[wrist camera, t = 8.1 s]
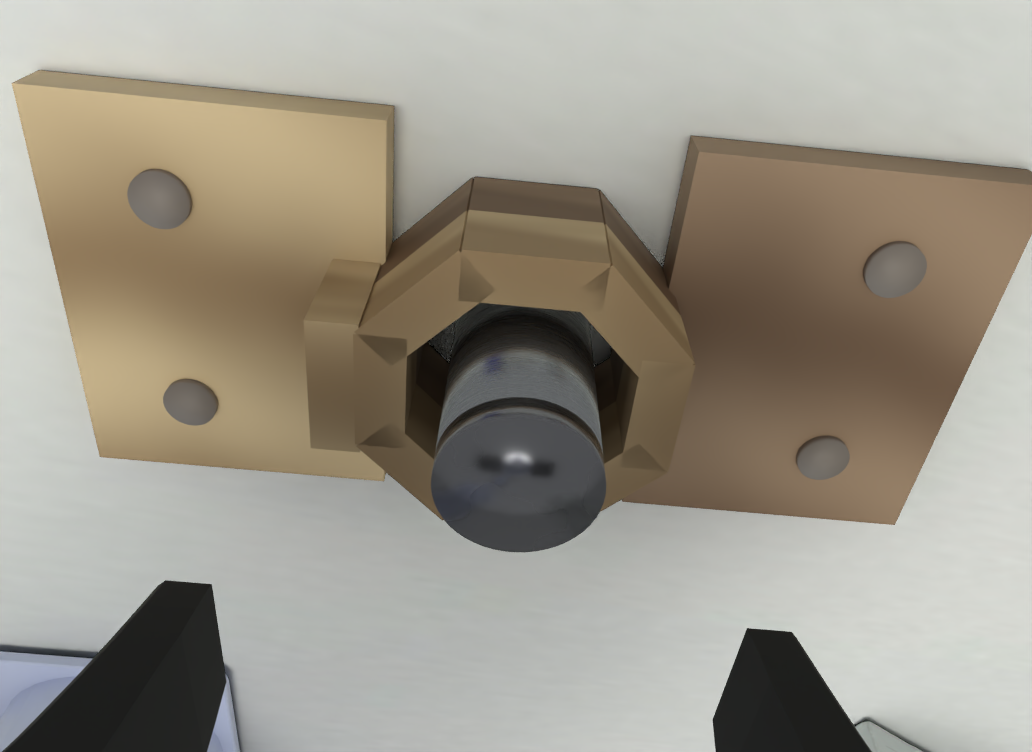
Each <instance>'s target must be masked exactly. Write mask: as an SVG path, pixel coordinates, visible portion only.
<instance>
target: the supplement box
mask: <svg viewBox="0 0 1032 752" xmlns="http://www.w3.org/2000/svg"><path fill="white" fill-rule="evenodd" d="M855 728H856V729H857V731H858V732H859V734H860V735H861V737H862V738H863V740H864V741H865V743H866V744H867V745H868V747H869V748H870V750H871V751H872V752H923V751H921V750H919V749H918V748H916V747H914V746H912V745H910V744H908V743H906V742H904V741H903V740H901V739H899V738H898V737H896V736H894V735H892V734H891V733H889V732H887V731H885V730H884V729H882V728H880V727H879V726H877V725H875V724H874V723H872V722H870V721H868V722H862V723H860V724H858V725H857V726H855Z"/></svg>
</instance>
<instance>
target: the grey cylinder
mask: <svg viewBox="0 0 1032 752" xmlns="http://www.w3.org/2000/svg"><path fill="white" fill-rule="evenodd" d="M431 493H432V497H433V501H434V504H435V506H436V508H437V510H438V512H439V513H440V515H441V516H442V518H443V519H444V520H445V521H446V522H447V524H448V525H449V526H450V527H451V528H453V529H454V530H455V531H456V532H457V533H459V534H460V535H462V536H463V537H465V538H467V539H468V540H470V541H472V542H474V543H477V544H479V545H482V546H484V547H488V548H491V549H495V550H501V551H508V552H532V551H539V550H544V549H549V548H552V547H555V546H558V545H560V544H563V543H565V542H567V541H569V540H571V539H573V538H575V537H576V536H578V535H579V534H580V533H582V532H583V531H584V530H585V529H586V528H587V527H588V526H590V525H591V523H592V522H593V521H594V520H595V518H596V517H597V515H598V514H599V512H600V510H601V508H602V506H603V503H604V500H605V495H606V476H605V467H604V457H603V448H602V439H601V429H600V420H599V411H598V402H597V392H596V383H595V374H594V364H593V355H592V346H591V336H590V327H589V321H588V320H587V319H586V317H585V316H584V315H583V314H582V313H581V312H576V311H565V310H554V309H544V308H533V307H522V306H511V305H501V304H490V303H479V304H477V305H476V306H475V307H473V308H472V309H471V310H469V311H468V312H466V313H465V314H464V315H462V316H461V317H460V318H458V319H457V321H456V328H455V334H454V340H453V346H452V352H451V358H450V365H449V371H448V377H447V383H446V389H445V395H444V401H443V408H442V414H441V420H440V426H439V432H438V438H437V444H436V451H435V457H434V463H433V469H432V475H431Z"/></svg>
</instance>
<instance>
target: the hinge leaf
mask: <svg viewBox="0 0 1032 752" xmlns="http://www.w3.org/2000/svg"><path fill="white" fill-rule="evenodd" d="M12 86H13V91H14V95H15V99H16V103H17V107H18V112H19V116H20V120H21V124H22V129H23V133H24V137H25V141H26V146H27V150H28V154H29V158H30V163H31V167H32V171H33V175H34V180H35V184H36V188H37V192H38V196H39V201H40V205H41V209H42V213H43V218H44V222H45V226H46V230H47V235H48V239H49V243H50V247H51V252H52V256H53V260H54V264H55V269H56V273H57V277H58V281H59V285H60V290H61V294H62V298H63V302H64V307H65V311H66V315H67V319H68V324H69V328H70V332H71V336H72V341H73V345H74V349H75V353H76V358H77V362H78V366H79V370H80V374H81V379H82V383H83V387H84V391H85V396H86V400H87V404H88V408H89V413H90V417H91V421H92V425H93V430H94V434H95V438H96V442H97V447H98V451H99V455H100V457H107V458H118V459H130V460H142V461H153V462H165V463H177V464H189V465H200V466H212V467H224V468H235V469H247V470H259V471H270V472H282V473H294V474H306V475H317V476H329V477H341V478H352V479H364V480H376V481H384V479H385V474H386V472H387V473H388V474H389V475H390V476H391V477H392V478H394V479H395V480H396V481H397V482H398V483H399V484H401V485H402V486H403V487H404V488H405V489H406V490H408V491H409V492H410V493H411V494H412V495H413V496H415V497H416V498H417V499H418V500H419V501H420V502H422V503H423V504H424V505H425V506H426V507H427V508H429V509H430V510H431V511H432V512H433V513H434V514H436V515H437V516H438V517H439V518H440V519H441V520H444V519H443V518H442V516H441V515H440V513H439V512H438V510H437V508H436V506H435V504H434V501H433V497H432V493H431V475H432V469H433V463H434V457H435V451H436V444H437V438H438V432H439V426H440V420H441V414H442V407H441V406H440V405H438V404H437V403H436V402H435V401H434V400H433V399H432V398H431V397H430V396H429V395H428V394H427V393H426V392H425V391H424V390H423V389H421V388H420V387H419V386H418V385H417V384H416V364H417V349H418V348H419V347H420V346H422V345H423V344H424V343H426V342H427V341H428V340H430V339H431V338H433V337H434V336H435V335H437V334H438V333H439V332H441V331H442V330H443V329H445V328H446V327H447V326H449V325H450V324H452V323H453V322H454V321H456V320H457V319H458V318H460V317H461V316H462V315H464V314H465V313H466V312H468V311H469V310H471V309H472V308H473V307H475V306H476V305H477V304H479V303H490V304H501V305H511V306H522V307H533V308H544V309H554V310H565V311H576V312H581V313H582V314H583V315H584V316H585V317H586V319H587V320H588V321H589V322H590V323H591V324H592V325H593V326H594V328H595V329H596V330H597V331H598V332H599V333H600V334H601V335H602V337H603V338H604V339H605V340H606V341H607V342H608V343H609V344H610V346H611V347H612V348H613V349H614V350H615V351H616V352H617V353H618V355H619V356H620V357H621V358H622V359H623V360H624V363H623V368H622V373H621V378H620V384H619V389H618V394H617V399H616V401H615V402H614V403H612V404H611V405H609V406H608V407H606V408H604V409H603V410H601V411H600V412H599V420H600V429H601V439H602V448H603V457H604V467H605V476H606V495H605V500H604V503H603V506H602V508H601V510H600V511H602V510H604V509H606V508H607V507H609V506H611V505H613V504H614V503H616V502H618V501H620V500H621V499H623V498H625V497H627V496H628V495H630V494H632V493H634V492H635V491H637V490H639V489H640V488H642V487H644V486H646V485H647V484H649V483H651V482H653V481H654V480H656V479H658V478H660V477H661V476H663V475H665V474H667V472H668V471H669V467H670V464H671V460H672V456H673V452H674V448H675V444H676V440H677V436H678V432H679V428H680V424H681V420H682V416H683V412H684V408H685V404H686V400H687V397H688V393H689V389H690V385H691V381H692V377H693V373H694V369H695V362H694V358H693V355H692V351H691V348H690V345H689V341H688V338H687V334H686V331H685V328H684V324H683V321H682V318H681V315H680V314H679V313H678V312H677V310H676V309H675V308H674V307H673V306H672V304H671V303H670V302H669V301H668V299H667V298H666V297H665V296H664V295H663V293H662V292H661V291H660V290H659V288H658V287H657V286H656V285H655V283H654V282H653V281H652V280H651V279H650V277H649V276H648V275H647V274H646V272H645V271H644V270H643V269H642V268H641V266H640V265H639V264H638V263H637V261H636V260H635V259H634V258H633V257H632V255H631V254H630V253H629V252H628V250H627V249H626V248H625V247H624V246H623V244H622V243H621V242H620V241H619V239H618V238H617V237H616V236H615V235H614V233H613V232H612V231H611V230H610V228H609V227H608V226H607V225H606V224H605V225H604V223H600V222H590V221H580V220H569V219H559V218H549V217H538V216H528V215H518V214H507V213H497V212H487V211H476V210H469V211H468V212H467V211H465V212H464V213H463V214H461V215H460V216H459V217H458V218H456V219H455V220H454V221H453V222H451V223H450V224H449V225H448V226H446V227H445V228H444V229H443V230H441V231H440V232H439V233H437V234H436V235H435V236H434V237H432V238H431V239H430V240H429V241H427V242H426V243H425V244H424V245H422V246H421V247H420V248H419V249H417V250H416V251H415V252H414V253H412V254H411V255H410V256H409V257H407V258H406V259H405V260H404V261H402V262H401V263H400V264H399V265H397V266H396V267H395V268H394V269H392V270H391V271H390V272H389V273H387V274H386V275H385V276H384V277H382V278H381V279H380V280H379V281H377V282H376V283H375V281H376V278H377V275H378V272H379V270H380V267H381V266H382V265H383V264H384V263H385V262H386V260H387V257H388V254H389V251H390V248H391V245H392V240H393V158H394V106H390V105H380V104H370V103H360V102H350V101H340V100H331V99H321V98H311V97H301V96H291V95H281V94H271V93H261V92H251V91H241V90H231V89H221V88H211V87H201V86H191V85H181V84H171V83H162V82H152V81H142V80H132V79H122V78H112V77H102V76H92V75H82V74H72V73H62V72H52V71H42V70H38V71H36V72H34V73H32V74H30V75H28V76H25V77H23V78H21V79H19V80H17V81H15V82H13V83H12Z"/></svg>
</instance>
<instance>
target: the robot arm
mask: <svg viewBox="0 0 1032 752" xmlns="http://www.w3.org/2000/svg"><path fill="white" fill-rule="evenodd" d="M713 728H714V738H715V748H716V752H872V751H871V750H870V748H869V747H868V745H867V744H866V743H865V741H864V740H863V738H862V737H861V735H860V734H859V732H858V731H857V729H856V728H855V726H854V725H853V723H852V722H851V720H850V719H849V717H848V716H847V714H846V713H845V712H844V710H843V709H842V707H841V706H840V704H839V703H838V701H837V700H836V698H835V696H834V695H833V693H832V692H831V690H830V689H829V687H828V686H827V684H826V683H825V681H824V680H823V678H822V677H821V675H820V674H819V672H818V671H817V669H816V667H815V666H814V664H813V663H812V661H811V660H810V658H809V657H808V655H807V654H806V652H805V650H804V649H803V647H802V646H801V644H800V643H799V641H798V640H797V638H796V637H795V636H794V635H793V633H792V632H785V631H773V630H761V629H749V628H747V630H746V633H745V635H744V638H743V641H742V643H741V646H740V649H739V651H738V654H737V657H736V659H735V662H734V665H733V667H732V670H731V673H730V675H729V678H728V680H727V683H726V686H725V688H724V691H723V694H722V696H721V699H720V702H719V704H718V707H717V710H716V712H715V715H714V718H713ZM0 752H240V749H239V742H238V736H237V730H236V723H235V717H234V710H233V704H232V697H231V691H230V685H229V679H228V677H227V675H226V674H225V669H224V663H223V656H222V649H221V643H220V636H219V630H218V623H217V616H216V610H215V603H214V597H213V590H212V584H201V583H189V582H177V581H164V582H163V583H161V584H160V585H158V586H157V588H156V589H155V590H154V591H153V592H152V593H151V594H150V596H149V597H148V598H147V599H146V600H145V601H144V602H143V604H142V605H141V606H140V607H139V608H138V609H137V610H136V611H135V613H134V614H133V615H132V616H131V617H130V618H129V619H128V621H127V622H126V623H125V624H124V625H123V626H122V627H121V628H120V630H119V631H118V632H117V633H116V634H115V635H114V636H113V637H112V638H111V640H110V641H109V642H108V643H107V644H106V645H105V646H104V647H103V648H102V649H101V650H100V652H99V653H98V654H97V655H96V656H95V657H94V658H80V657H67V656H54V655H41V654H28V653H15V652H2V651H0Z"/></svg>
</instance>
